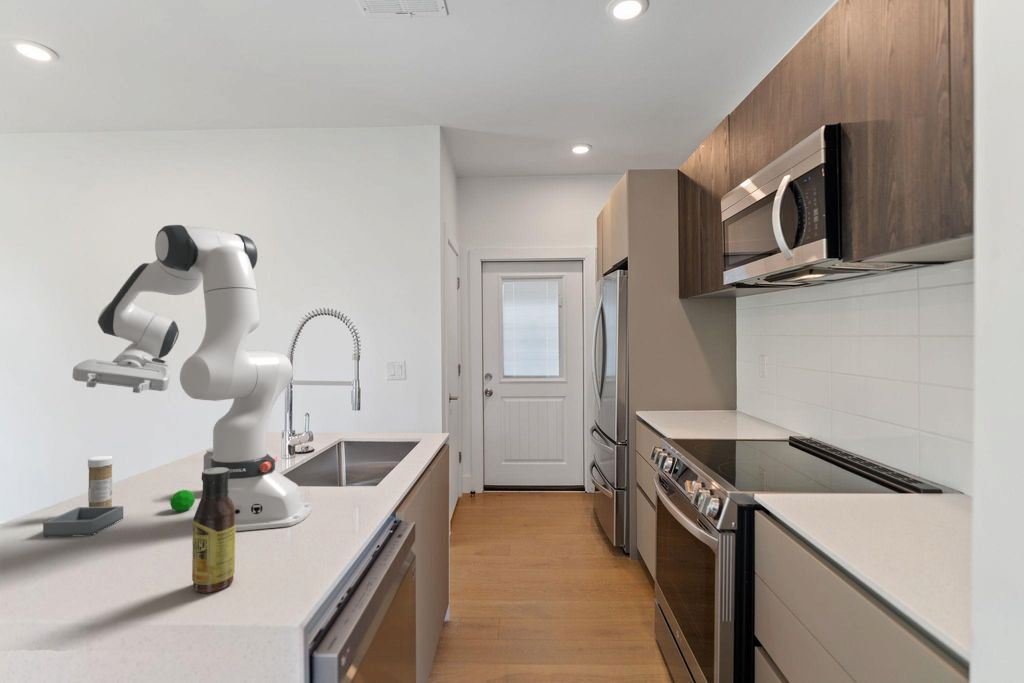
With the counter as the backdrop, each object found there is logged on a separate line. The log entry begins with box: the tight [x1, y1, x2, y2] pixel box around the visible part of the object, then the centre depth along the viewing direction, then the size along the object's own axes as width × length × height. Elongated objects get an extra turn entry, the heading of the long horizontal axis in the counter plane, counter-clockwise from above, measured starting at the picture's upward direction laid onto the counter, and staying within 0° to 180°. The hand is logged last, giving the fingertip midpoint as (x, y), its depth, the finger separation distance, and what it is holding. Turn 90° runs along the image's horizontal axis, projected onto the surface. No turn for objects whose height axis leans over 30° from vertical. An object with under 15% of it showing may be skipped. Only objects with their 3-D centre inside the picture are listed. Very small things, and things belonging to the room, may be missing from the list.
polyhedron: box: [169, 489, 196, 512], centre depth 121 cm, size 5×5×5 cm
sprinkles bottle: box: [87, 455, 114, 507], centre depth 119 cm, size 5×5×14 cm
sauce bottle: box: [191, 467, 236, 594], centre depth 85 cm, size 6×6×20 cm
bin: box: [42, 505, 124, 537], centre depth 110 cm, size 10×10×3 cm
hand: (113, 387), depth 125 cm, fingers open, 8 cm apart
